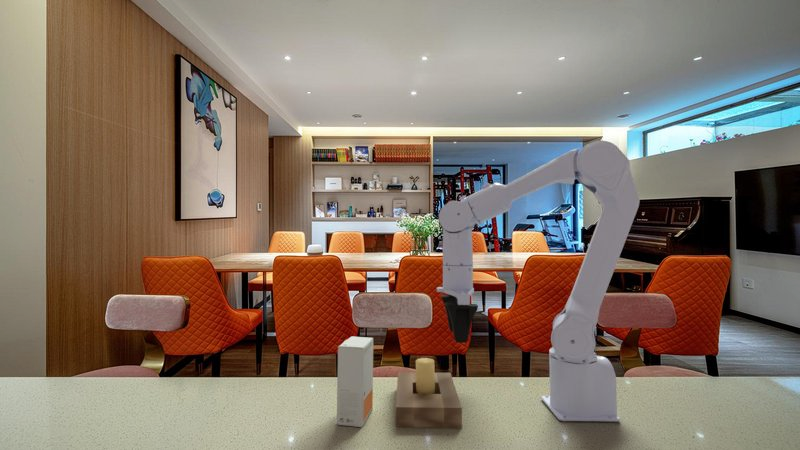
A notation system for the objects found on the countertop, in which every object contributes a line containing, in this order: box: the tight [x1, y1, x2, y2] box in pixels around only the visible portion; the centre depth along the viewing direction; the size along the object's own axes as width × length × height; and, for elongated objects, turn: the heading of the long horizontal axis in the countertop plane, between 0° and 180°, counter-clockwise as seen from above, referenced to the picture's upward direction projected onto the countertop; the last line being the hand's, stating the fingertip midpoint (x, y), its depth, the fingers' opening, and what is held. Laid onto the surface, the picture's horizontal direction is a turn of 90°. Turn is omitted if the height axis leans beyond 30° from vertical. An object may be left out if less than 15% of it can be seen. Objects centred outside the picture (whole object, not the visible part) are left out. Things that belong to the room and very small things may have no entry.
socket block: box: [395, 371, 463, 429], centre depth 60 cm, size 10×14×3 cm
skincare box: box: [336, 335, 374, 428], centre depth 57 cm, size 6×4×12 cm
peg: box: [415, 357, 436, 394], centre depth 61 cm, size 3×3×7 cm
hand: (458, 336), depth 68 cm, fingers open, 7 cm apart
